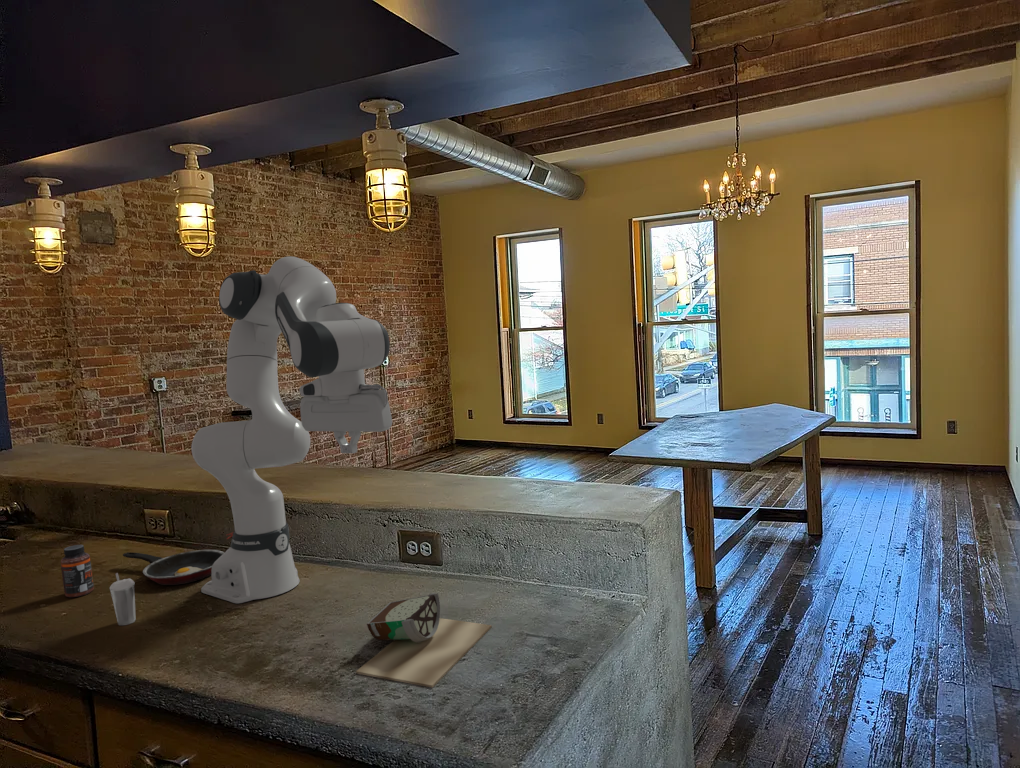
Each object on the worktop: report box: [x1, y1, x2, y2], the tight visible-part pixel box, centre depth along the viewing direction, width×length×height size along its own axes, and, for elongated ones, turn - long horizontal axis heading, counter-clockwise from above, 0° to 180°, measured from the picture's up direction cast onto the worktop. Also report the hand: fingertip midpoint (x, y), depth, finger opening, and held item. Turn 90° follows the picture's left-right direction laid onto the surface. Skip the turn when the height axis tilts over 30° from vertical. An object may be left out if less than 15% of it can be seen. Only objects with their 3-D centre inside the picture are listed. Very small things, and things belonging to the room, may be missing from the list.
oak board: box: [355, 617, 493, 689], centre depth 123 cm, size 15×22×1 cm
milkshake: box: [109, 572, 137, 626], centre depth 144 cm, size 4×5×10 cm
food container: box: [366, 592, 441, 643], centre depth 127 cm, size 12×6×10 cm
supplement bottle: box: [60, 544, 95, 598], centre depth 162 cm, size 6×6×11 cm
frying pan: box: [122, 549, 225, 586], centre depth 174 cm, size 19×32×4 cm, turn 65°
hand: (349, 452), depth 139 cm, fingers closed
